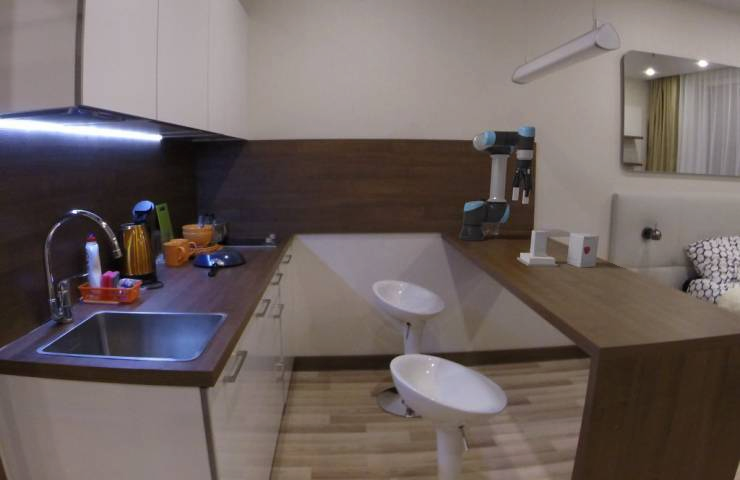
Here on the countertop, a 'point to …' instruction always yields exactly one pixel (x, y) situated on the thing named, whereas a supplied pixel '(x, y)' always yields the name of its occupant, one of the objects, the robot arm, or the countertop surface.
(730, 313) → the countertop surface
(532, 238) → the skincare box
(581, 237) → the supplement box
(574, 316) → the countertop surface
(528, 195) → the robot arm
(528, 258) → the podium
